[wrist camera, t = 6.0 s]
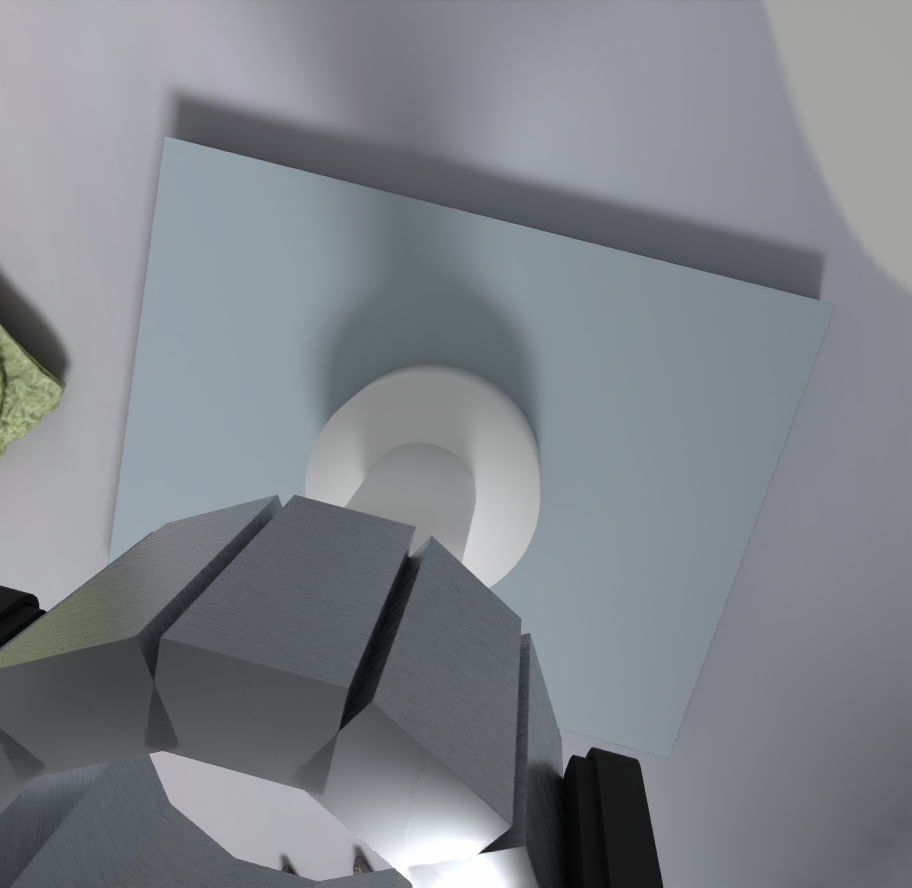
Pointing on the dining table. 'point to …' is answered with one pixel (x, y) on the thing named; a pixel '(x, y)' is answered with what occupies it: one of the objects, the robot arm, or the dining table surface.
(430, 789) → the ring
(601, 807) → the robot arm
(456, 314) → the piston block
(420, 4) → the dining table surface
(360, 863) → the pliers
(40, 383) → the washcloth
